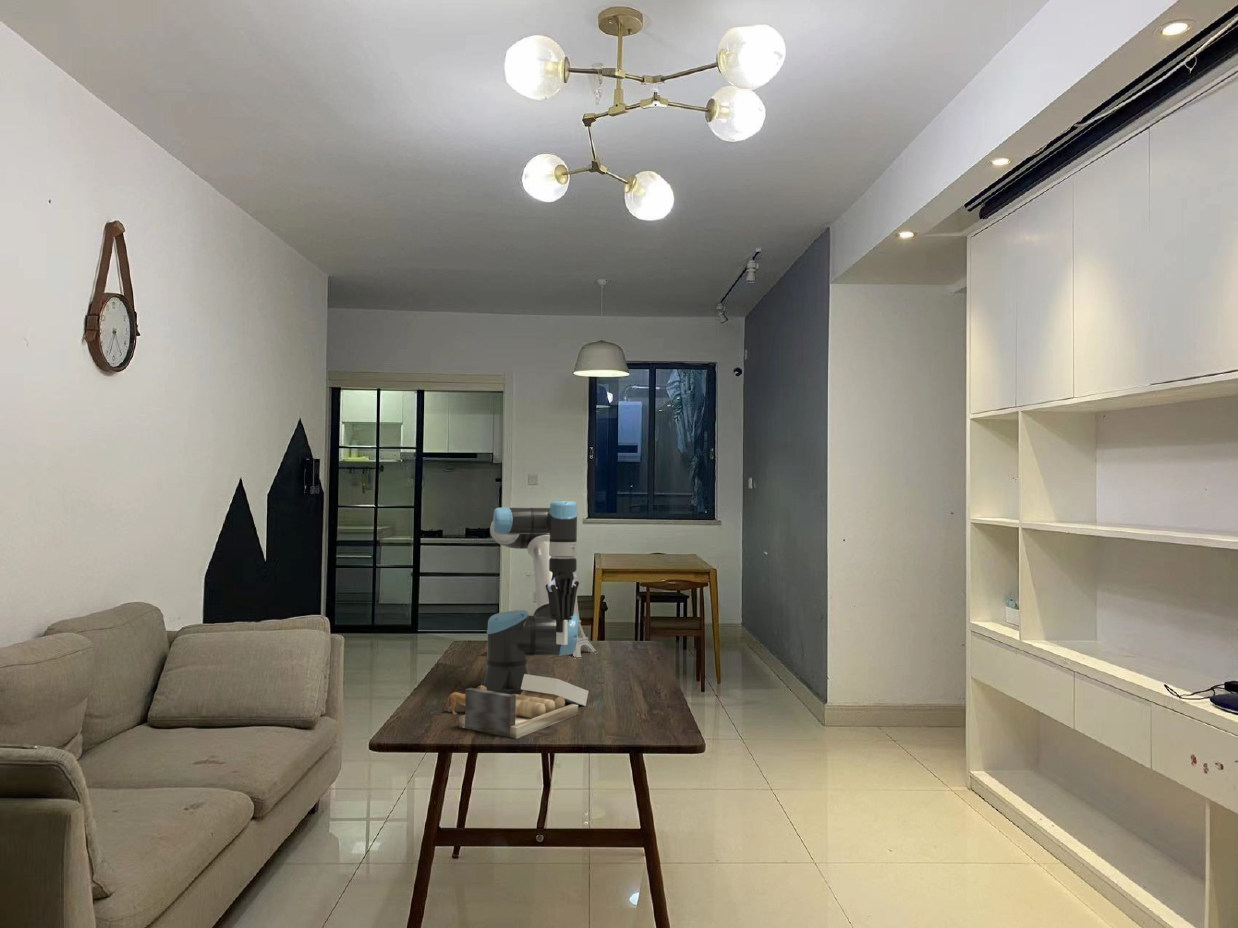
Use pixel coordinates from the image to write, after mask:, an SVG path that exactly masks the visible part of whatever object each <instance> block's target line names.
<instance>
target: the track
mask: <svg viewBox="0 0 1238 928" xmlns="http://www.w3.org/2000/svg"><path fill="white" fill-rule="evenodd" d="M475 688H476V687H475ZM475 688H474V687H468V688H465V693H464V694H465V706H464V710H465V711H464V715H460V716H458V728H461V727H462V729H466V730H471V729H472V731H475V732H481V733H487V734H491V735H496V736H501V737H507V738H511V739H519V738H522V737H524V736H527V735H529V734H532V733H534V732H537V731H540V730H543V729H545V728H548V727H550V726H552V725H556V724H558V723H560V722H563V721H565V720H568V719H570V718H573V717H576V716H578V715H579V705H577V704H571V703H570V704H568V705H565V707H562V708H560V709H557V710H554V711H552V712H549V713H546V714H543V715H541V716H538V717H535V718H527V717H521V716H516V715H515V711H516V695H511V694H505V693H499V692H493V691H487V690H481V689H475Z"/></svg>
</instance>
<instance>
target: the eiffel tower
mask: <svg viewBox="0 0 1238 928" xmlns="http://www.w3.org/2000/svg"><path fill="white" fill-rule="evenodd" d="M573 576H574V580H575V581H578V582H579V579H578V576H577V574H576V571H575V572H573ZM574 614H575V615H577V616H578V637H577V644H576V649H575V651H574V653H572V657H573V656H574V657H575V656H576V657H582V654H581V649H582V648H581V647H582V646H583V647H585V648H586V649H587V650H588V652H589V651H590V652H594V651H597V650H596V648H594V646H593V645H592V644H591V642H590V641H589V637H588V636H586V634H585V633H584V630H583V627H582V625H581V623H582V620H581V619H580V614H579V606H578V592H577V593H576V600H575V607H574Z"/></svg>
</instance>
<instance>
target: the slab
mask: <svg viewBox="0 0 1238 928" xmlns="http://www.w3.org/2000/svg"><path fill="white" fill-rule="evenodd" d="M521 689H522V690H525V691H529V692H535V693H541V694H548V695H554V696H561V697H564V699H565V704H570V705H571V704H575V705H578V706H584V707H585V706H586V705H587V701H588V696H589V690H587V689H585V688H582V687H580V686H576V685H574V684H572V683H569V682H567V681H564V680H562V679H559V678H555V677H548V676H540V675H532V674H530V675H528V674H524V677H523V681H522V685H521Z"/></svg>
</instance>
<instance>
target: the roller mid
mask: <svg viewBox="0 0 1238 928" xmlns="http://www.w3.org/2000/svg"><path fill="white" fill-rule="evenodd" d="M512 695H516V699H519V700H525V701H531V702H537V703H543V704H544V705H545V708H546V711H545V714H546V713H549V712H552V711H554V710H555V702H554V701H553V700H549V699H543V698H537V697H531V696H525V695H518V694H512Z"/></svg>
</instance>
